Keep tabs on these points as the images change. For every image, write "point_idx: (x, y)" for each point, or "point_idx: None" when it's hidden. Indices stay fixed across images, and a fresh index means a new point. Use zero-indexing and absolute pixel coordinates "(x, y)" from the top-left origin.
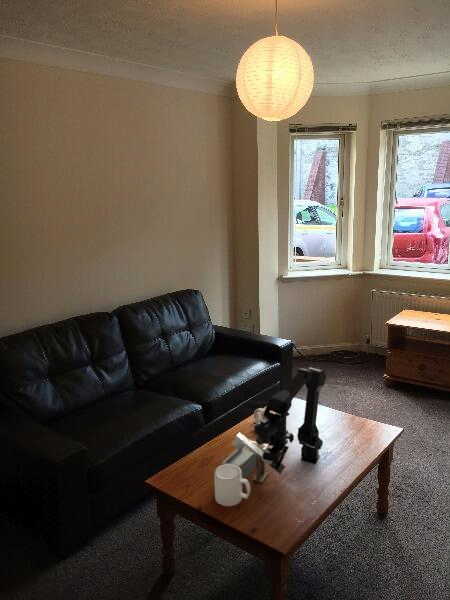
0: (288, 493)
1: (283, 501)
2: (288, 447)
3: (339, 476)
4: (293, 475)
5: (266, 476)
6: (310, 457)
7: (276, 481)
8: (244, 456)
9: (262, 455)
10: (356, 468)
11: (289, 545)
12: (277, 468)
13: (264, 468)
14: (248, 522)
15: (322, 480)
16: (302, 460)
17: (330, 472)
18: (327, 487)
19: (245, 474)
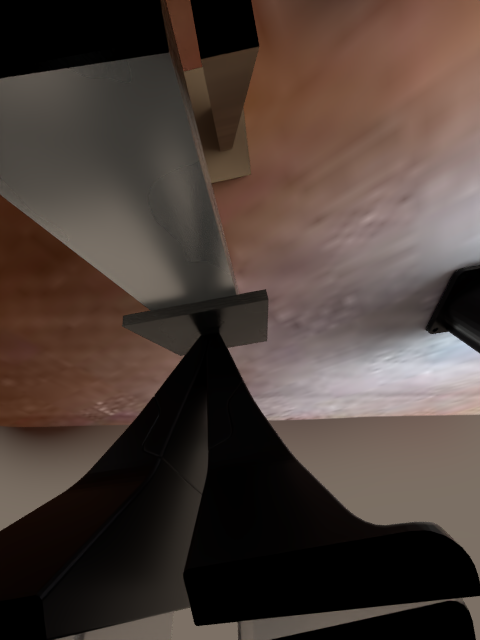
0: None
1: (126, 350)
2: (345, 590)
3: (355, 399)
4: (307, 301)
5: (216, 181)
6: (461, 323)
7: None
8: None
9: (33, 161)
10: (407, 409)
11: (13, 426)
12: (183, 342)
13: (228, 144)
14: None
15: (317, 380)
16: (451, 278)
17: (371, 379)
18: (287, 399)
19: None
